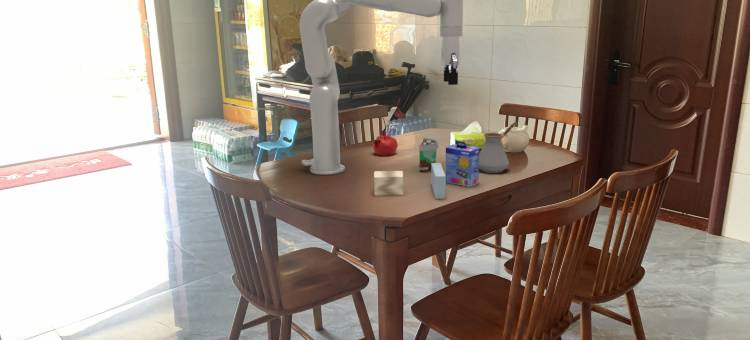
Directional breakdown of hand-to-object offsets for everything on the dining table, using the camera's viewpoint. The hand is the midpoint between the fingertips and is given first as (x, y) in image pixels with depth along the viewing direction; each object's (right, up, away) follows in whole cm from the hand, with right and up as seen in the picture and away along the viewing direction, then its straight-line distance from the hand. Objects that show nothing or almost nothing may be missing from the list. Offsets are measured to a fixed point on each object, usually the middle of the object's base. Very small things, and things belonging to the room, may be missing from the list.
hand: (450, 83), depth 200 cm
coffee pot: (+19, -29, +8) cm, 36 cm away
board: (-6, -37, -17) cm, 41 cm away
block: (-22, -37, -17) cm, 46 cm away
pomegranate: (-22, -24, +32) cm, 46 cm away
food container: (-6, -30, +9) cm, 32 cm away
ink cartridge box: (+2, -35, -10) cm, 36 cm away
